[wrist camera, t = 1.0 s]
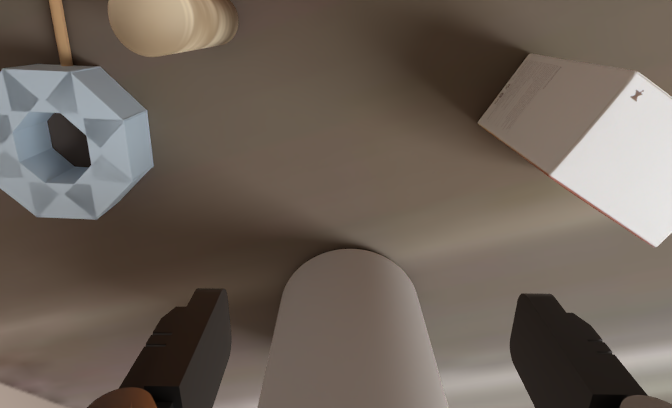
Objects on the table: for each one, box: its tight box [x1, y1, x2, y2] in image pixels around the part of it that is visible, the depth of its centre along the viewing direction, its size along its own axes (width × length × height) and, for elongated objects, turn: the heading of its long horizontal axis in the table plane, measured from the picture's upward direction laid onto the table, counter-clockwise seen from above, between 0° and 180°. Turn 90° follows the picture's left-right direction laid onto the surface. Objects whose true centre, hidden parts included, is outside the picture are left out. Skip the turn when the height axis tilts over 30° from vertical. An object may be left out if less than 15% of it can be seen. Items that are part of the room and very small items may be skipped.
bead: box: [0, 63, 154, 220], centre depth 34 cm, size 11×11×4 cm
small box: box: [478, 53, 672, 247], centre depth 29 cm, size 8×6×13 cm
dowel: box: [108, 0, 239, 57], centre depth 27 cm, size 4×4×12 cm
